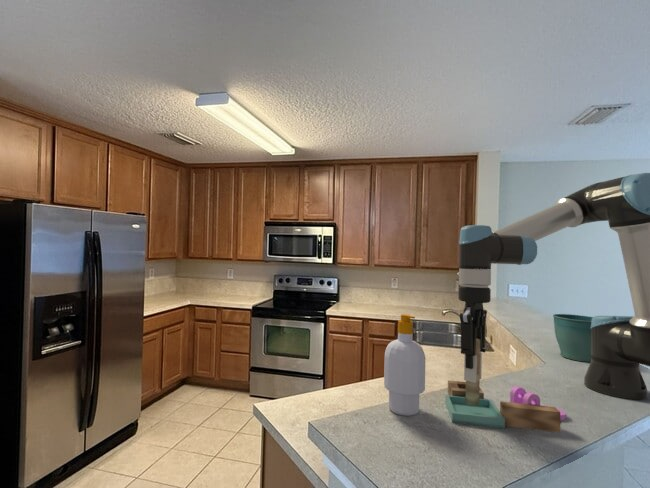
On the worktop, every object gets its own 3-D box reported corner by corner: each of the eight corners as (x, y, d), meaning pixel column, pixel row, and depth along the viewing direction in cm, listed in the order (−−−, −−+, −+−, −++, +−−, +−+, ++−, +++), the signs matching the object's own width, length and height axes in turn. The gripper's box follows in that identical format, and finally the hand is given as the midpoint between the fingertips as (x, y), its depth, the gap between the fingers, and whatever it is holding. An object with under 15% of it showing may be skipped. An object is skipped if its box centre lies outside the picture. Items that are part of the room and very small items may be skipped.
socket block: (476, 395, 101) (476, 383, 101) (483, 406, 93) (483, 393, 93) (447, 392, 103) (447, 380, 103) (452, 403, 95) (452, 390, 95)
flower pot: (603, 357, 148) (603, 317, 149) (609, 367, 133) (609, 322, 134) (552, 350, 158) (552, 312, 159) (553, 359, 143) (553, 317, 144)
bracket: (527, 423, 84) (527, 394, 84) (510, 413, 90) (510, 386, 90) (571, 420, 87) (571, 391, 87) (552, 410, 93) (552, 383, 93)
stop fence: (554, 426, 83) (554, 406, 83) (560, 432, 80) (560, 412, 80) (500, 420, 85) (500, 401, 86) (503, 425, 82) (503, 406, 83)
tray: (491, 408, 92) (491, 399, 92) (504, 428, 81) (504, 419, 81) (445, 403, 95) (445, 394, 95) (452, 422, 83) (452, 413, 83)
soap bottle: (400, 422, 82) (403, 319, 84) (375, 405, 92) (377, 312, 93) (433, 414, 87) (435, 317, 88) (405, 399, 96) (407, 311, 97)
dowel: (468, 399, 90) (469, 336, 91) (481, 403, 88) (482, 339, 89) (463, 403, 88) (464, 338, 89) (476, 406, 86) (477, 341, 86)
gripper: (470, 284, 98) (468, 369, 97) (447, 285, 86) (445, 383, 85) (499, 286, 93) (498, 375, 92) (479, 288, 81) (477, 391, 80)
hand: (472, 379), depth 88 cm, fingers closed on dowel, 3 cm apart
